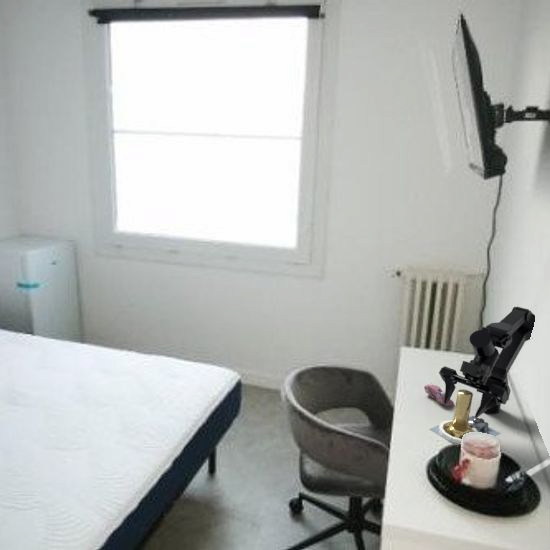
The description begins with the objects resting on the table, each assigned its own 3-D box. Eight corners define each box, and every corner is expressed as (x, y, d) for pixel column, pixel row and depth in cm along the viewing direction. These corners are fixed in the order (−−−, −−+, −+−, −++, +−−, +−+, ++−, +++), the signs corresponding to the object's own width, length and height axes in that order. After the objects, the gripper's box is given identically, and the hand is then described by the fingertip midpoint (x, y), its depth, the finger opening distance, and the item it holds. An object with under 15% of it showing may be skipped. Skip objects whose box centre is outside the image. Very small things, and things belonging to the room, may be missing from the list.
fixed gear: (472, 418, 155) (473, 411, 154) (492, 428, 150) (493, 421, 149) (458, 424, 151) (459, 416, 151) (478, 435, 146) (479, 427, 145)
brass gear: (447, 424, 151) (454, 384, 147) (473, 431, 148) (480, 391, 144) (443, 435, 144) (450, 394, 141) (470, 443, 141) (477, 401, 138)
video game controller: (425, 399, 171) (420, 383, 168) (436, 392, 171) (431, 376, 169) (445, 414, 162) (439, 397, 159) (456, 406, 163) (451, 390, 160)
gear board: (464, 417, 157) (465, 410, 157) (499, 436, 148) (501, 429, 147) (428, 432, 148) (429, 425, 147) (463, 453, 138) (465, 446, 138)
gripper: (446, 340, 149) (422, 385, 144) (511, 361, 136) (487, 412, 131) (455, 358, 156) (432, 402, 151) (517, 380, 143) (495, 428, 139)
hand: (460, 410), depth 143 cm, fingers open, 9 cm apart
